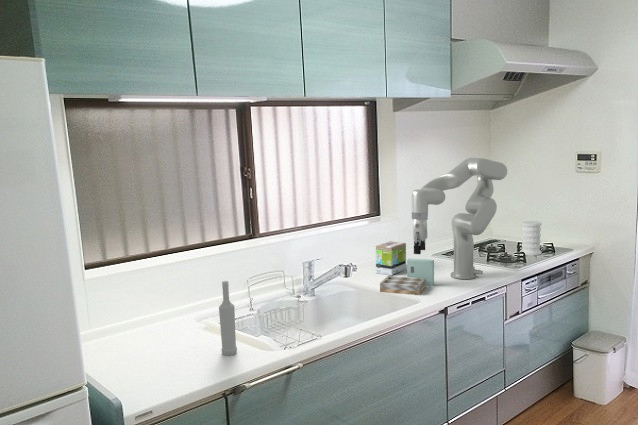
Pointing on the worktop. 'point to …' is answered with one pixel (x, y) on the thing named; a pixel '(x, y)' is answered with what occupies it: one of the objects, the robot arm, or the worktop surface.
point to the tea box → (390, 258)
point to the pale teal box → (421, 270)
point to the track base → (402, 285)
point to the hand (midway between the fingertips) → (419, 251)
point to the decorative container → (531, 237)
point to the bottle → (227, 323)
